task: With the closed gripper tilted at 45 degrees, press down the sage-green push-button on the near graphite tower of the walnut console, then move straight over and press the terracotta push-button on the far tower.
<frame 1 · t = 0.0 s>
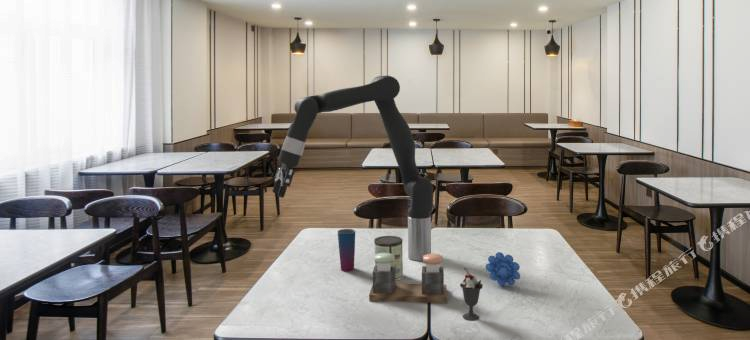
hand: (277, 194, 186), 31 cm above the table, tool tilted 20°, fingers open, 8 cm apart
button b: (432, 267, 172), point 10 cm above the table, slide at 0.0 cm
button a: (384, 266, 174), point 10 cm above the table, slide at 0.0 cm
sundae: (470, 317, 157), on the table
coffee can: (388, 277, 192), on the table
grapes: (502, 287, 180), on the table
console: (408, 295, 174), on the table
cup: (347, 269, 201), on the table
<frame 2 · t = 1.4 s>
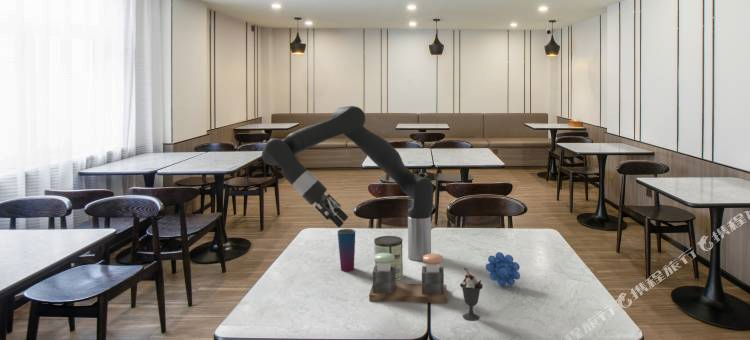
hand: (344, 222, 173), 25 cm above the table, tool tilted 45°, fingers open, 8 cm apart
nothing on the table moved.
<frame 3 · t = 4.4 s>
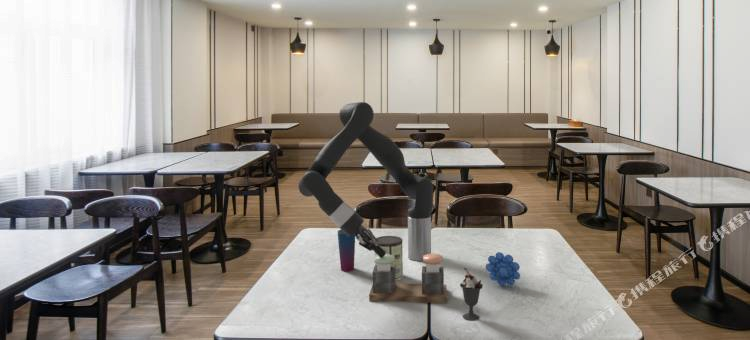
hand: (383, 255, 173), 14 cm above the table, tool tilted 45°, fingers closed
button a: (384, 267, 174), point 9 cm above the table, slide at 0.4 cm, touching gripper
everything else where it was.
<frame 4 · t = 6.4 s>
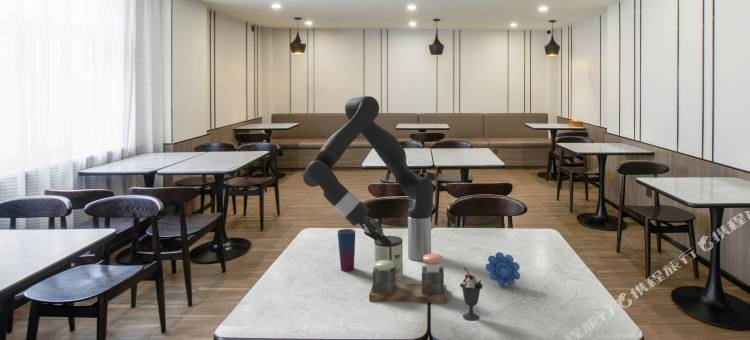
hand: (389, 244, 172), 17 cm above the table, tool tilted 45°, fingers closed
button a: (384, 274, 174), point 7 cm above the table, slide at 2.6 cm
everything else where it was.
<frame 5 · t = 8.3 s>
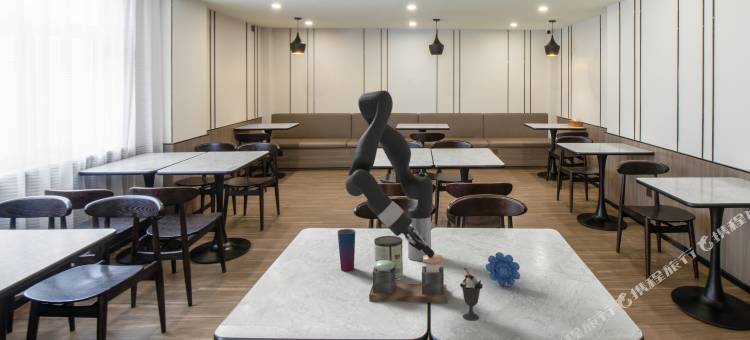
hand: (432, 255, 171), 14 cm above the table, tool tilted 45°, fingers closed
button b: (432, 267, 172), point 10 cm above the table, slide at 0.1 cm, touching gripper
everything else where it was.
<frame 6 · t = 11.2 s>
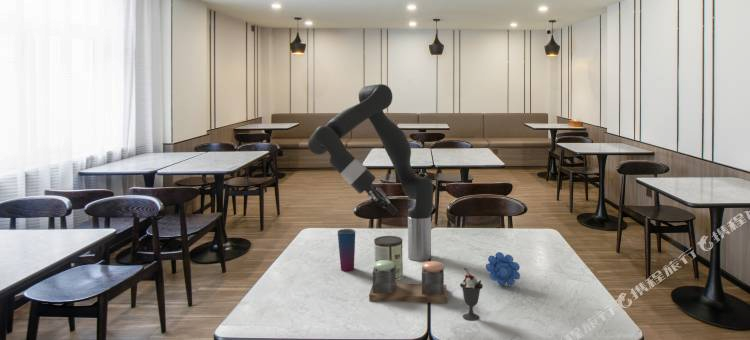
hand: (395, 213, 171), 28 cm above the table, tool tilted 45°, fingers closed
button b: (432, 275, 172), point 7 cm above the table, slide at 2.6 cm
everything else where it was.
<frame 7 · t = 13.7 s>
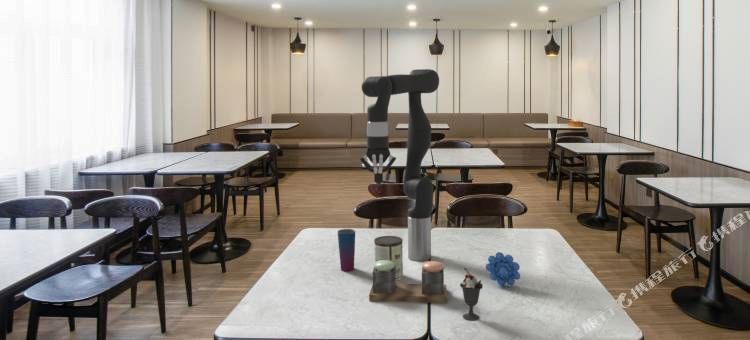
hand: (378, 183, 185), 35 cm above the table, tool pointing down, fingers closed
nothing on the table moved.
at the end: button a slide at 2.6 cm; button b slide at 2.6 cm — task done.
